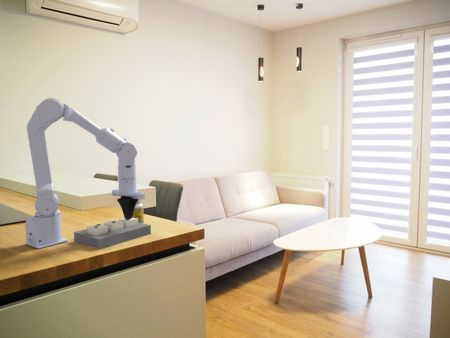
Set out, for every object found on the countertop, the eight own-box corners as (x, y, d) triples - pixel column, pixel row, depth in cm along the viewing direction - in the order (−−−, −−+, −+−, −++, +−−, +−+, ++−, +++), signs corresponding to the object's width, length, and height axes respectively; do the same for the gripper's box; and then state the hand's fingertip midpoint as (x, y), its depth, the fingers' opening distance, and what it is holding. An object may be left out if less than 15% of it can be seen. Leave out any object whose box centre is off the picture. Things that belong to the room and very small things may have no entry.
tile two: (95, 238, 108) (95, 228, 107) (87, 236, 110) (86, 226, 110) (108, 235, 111) (107, 225, 111) (99, 233, 114) (99, 223, 113)
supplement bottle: (143, 221, 136) (143, 197, 136) (143, 225, 131) (143, 199, 130) (129, 222, 135) (128, 197, 134) (128, 226, 130) (127, 200, 129)
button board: (99, 249, 104) (98, 239, 104) (74, 241, 111) (73, 232, 111) (150, 233, 120) (150, 225, 120) (126, 227, 128) (125, 219, 127)
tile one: (112, 234, 112) (111, 224, 112) (103, 231, 115) (103, 222, 115) (123, 231, 116) (123, 221, 116) (115, 229, 119) (114, 219, 118)
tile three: (127, 230, 117) (127, 220, 117) (119, 228, 120) (118, 218, 120) (138, 227, 121) (137, 218, 120) (129, 225, 123) (129, 216, 123)
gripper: (151, 178, 118) (152, 219, 119) (123, 176, 126) (124, 213, 127) (134, 181, 112) (135, 223, 113) (106, 178, 120) (107, 217, 122)
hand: (128, 218), depth 120 cm, fingers closed, pressing on tile three
